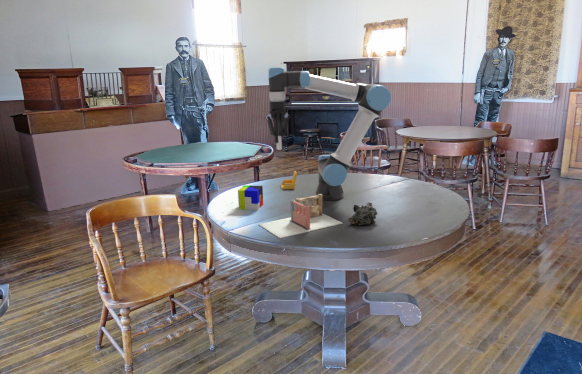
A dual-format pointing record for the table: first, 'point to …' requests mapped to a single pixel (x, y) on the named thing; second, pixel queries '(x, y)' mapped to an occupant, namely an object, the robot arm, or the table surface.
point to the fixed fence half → (315, 209)
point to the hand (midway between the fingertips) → (279, 149)
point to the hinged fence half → (300, 214)
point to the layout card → (298, 225)
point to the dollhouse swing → (289, 182)
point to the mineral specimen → (363, 215)
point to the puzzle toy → (250, 197)
